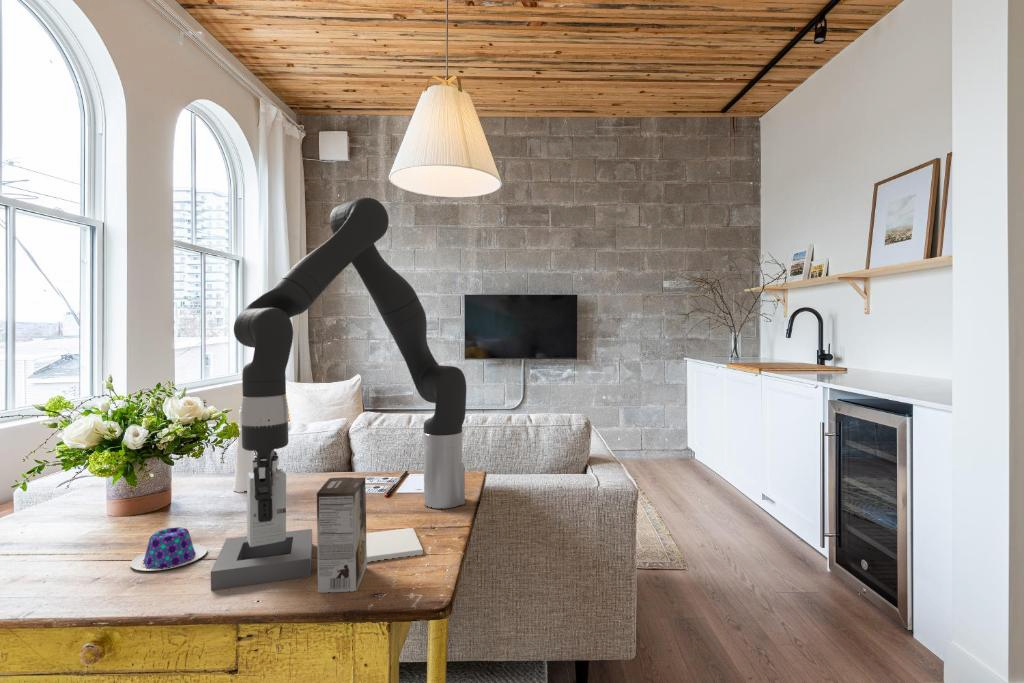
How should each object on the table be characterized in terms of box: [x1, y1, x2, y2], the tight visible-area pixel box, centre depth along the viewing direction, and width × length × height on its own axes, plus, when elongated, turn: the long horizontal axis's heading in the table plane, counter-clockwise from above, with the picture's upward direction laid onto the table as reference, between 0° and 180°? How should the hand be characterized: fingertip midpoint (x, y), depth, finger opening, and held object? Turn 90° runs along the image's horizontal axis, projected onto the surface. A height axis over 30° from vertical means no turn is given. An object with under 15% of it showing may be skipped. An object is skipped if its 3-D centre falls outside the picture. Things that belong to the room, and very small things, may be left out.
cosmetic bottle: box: [232, 405, 255, 493], centre depth 145 cm, size 6×6×22 cm
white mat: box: [366, 527, 424, 563], centre depth 105 cm, size 12×12×1 cm
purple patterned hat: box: [129, 526, 208, 572], centre depth 100 cm, size 12×12×5 cm
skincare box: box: [246, 468, 287, 547], centre depth 97 cm, size 6×4×12 cm
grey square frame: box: [210, 528, 313, 591], centre depth 97 cm, size 15×15×3 cm
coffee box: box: [316, 476, 368, 594], centre depth 91 cm, size 9×6×16 cm
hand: (267, 515), depth 97 cm, fingers closed on skincare box, 5 cm apart
